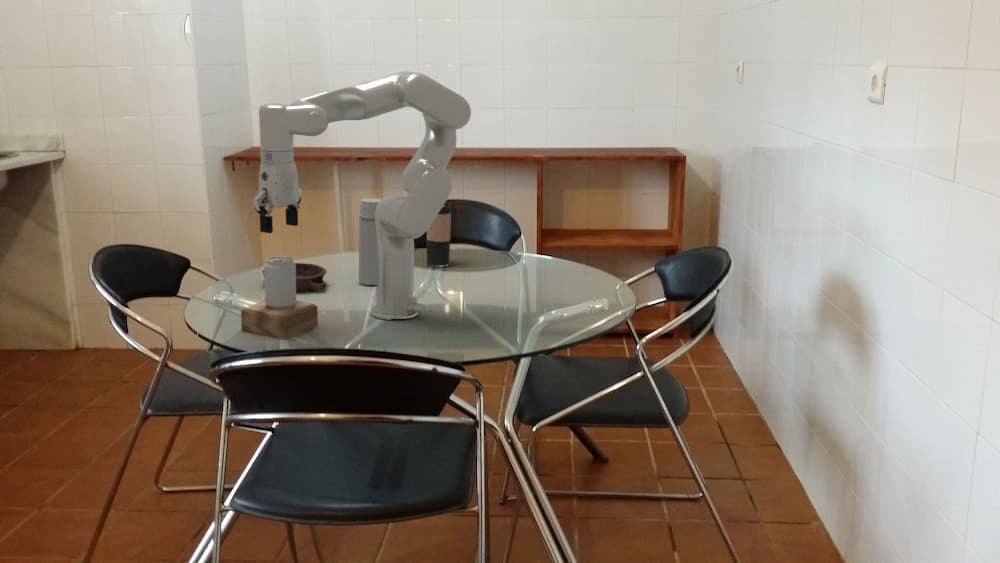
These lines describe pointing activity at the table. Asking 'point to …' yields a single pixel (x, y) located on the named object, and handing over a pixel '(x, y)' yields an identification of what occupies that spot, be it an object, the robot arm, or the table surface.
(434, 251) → the travel mug
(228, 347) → the table surface
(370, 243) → the water bottle
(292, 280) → the can
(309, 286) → the dish
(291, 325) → the plinth
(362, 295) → the table surface
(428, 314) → the table surface
